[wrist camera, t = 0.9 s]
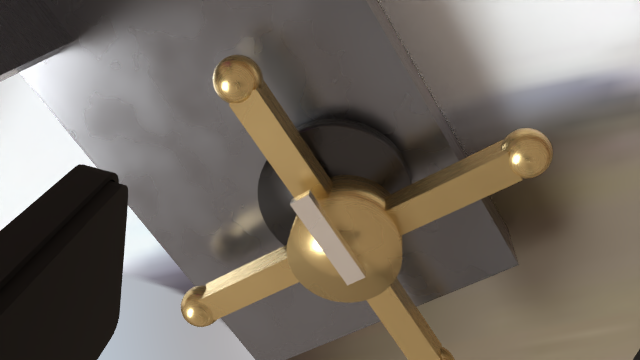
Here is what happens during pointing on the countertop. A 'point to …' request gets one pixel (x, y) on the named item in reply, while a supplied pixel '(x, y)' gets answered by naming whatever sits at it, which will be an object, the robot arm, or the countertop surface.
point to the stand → (244, 134)
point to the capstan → (347, 208)
